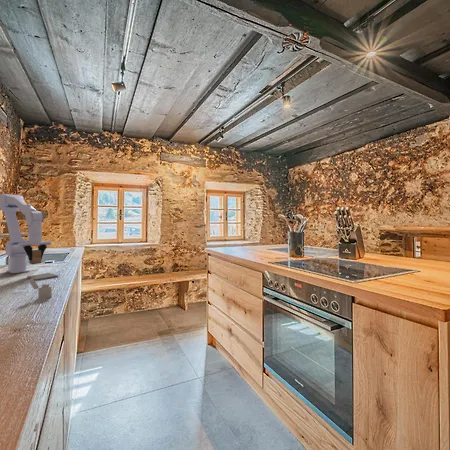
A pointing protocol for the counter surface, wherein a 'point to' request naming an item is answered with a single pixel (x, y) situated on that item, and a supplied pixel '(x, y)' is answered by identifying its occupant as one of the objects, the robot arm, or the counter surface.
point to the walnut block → (35, 257)
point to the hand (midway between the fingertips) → (35, 259)
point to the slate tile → (42, 276)
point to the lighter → (42, 289)
